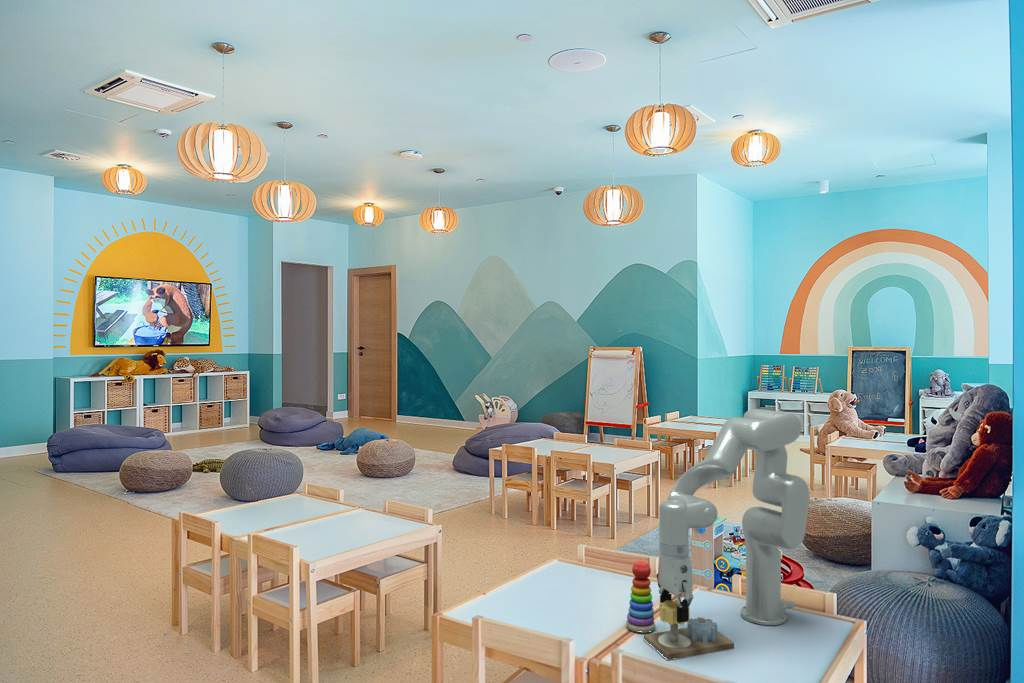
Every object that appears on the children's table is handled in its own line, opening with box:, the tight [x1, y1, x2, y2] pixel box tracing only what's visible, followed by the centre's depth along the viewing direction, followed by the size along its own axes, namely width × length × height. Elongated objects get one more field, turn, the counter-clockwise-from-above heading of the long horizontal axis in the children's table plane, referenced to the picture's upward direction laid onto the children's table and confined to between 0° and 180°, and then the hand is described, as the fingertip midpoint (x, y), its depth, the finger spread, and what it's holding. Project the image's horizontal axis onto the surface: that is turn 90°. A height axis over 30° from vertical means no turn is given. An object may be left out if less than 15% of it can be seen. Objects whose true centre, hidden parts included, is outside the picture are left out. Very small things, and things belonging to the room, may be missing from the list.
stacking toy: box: [626, 560, 656, 633], centre depth 195 cm, size 8×8×19 cm
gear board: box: [643, 617, 735, 660], centre depth 185 cm, size 20×12×6 cm, turn 108°
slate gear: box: [686, 617, 718, 643], centre depth 186 cm, size 8×8×4 cm
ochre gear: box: [658, 599, 689, 626], centre depth 183 cm, size 8×8×4 cm
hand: (674, 614), depth 183 cm, fingers closed on ochre gear, 7 cm apart
